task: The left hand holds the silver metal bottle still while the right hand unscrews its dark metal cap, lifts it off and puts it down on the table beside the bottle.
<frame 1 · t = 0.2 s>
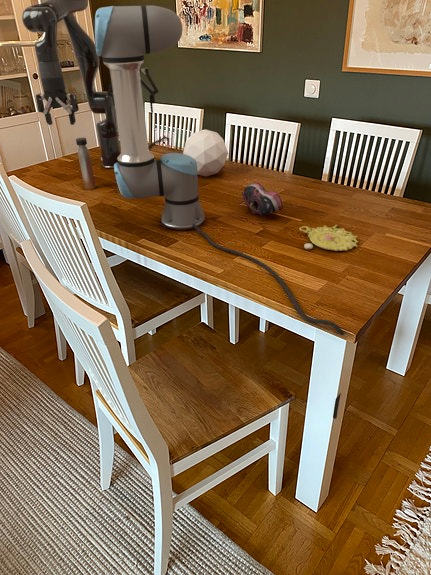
left hand: (61, 124, 161), 29 cm above the table, tool pointing down, fingers open, 8 cm apart
right hand: (135, 113, 181), 28 cm above the table, tool pointing down, fingers open, 13 cm apart
decorative object: (328, 239, 142), on the table
cap: (81, 139, 178), point 20 cm above the table, screwed on, not yet turned
athletic shoe: (257, 211, 163), on the table
sphere: (206, 174, 200), on the table
bottle: (90, 187, 189), on the table
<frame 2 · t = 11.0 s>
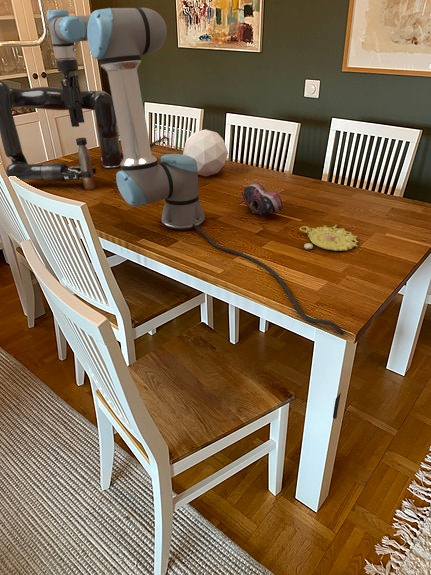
left hand: (93, 172, 185), 7 cm above the table, tool horizontal, fingers closed on bottle, 4 cm apart
right hand: (78, 124, 175), 26 cm above the table, tool pointing down, fingers open, 6 cm apart
bottle: (90, 187, 189), on the table, touching left hand
everything else where it was.
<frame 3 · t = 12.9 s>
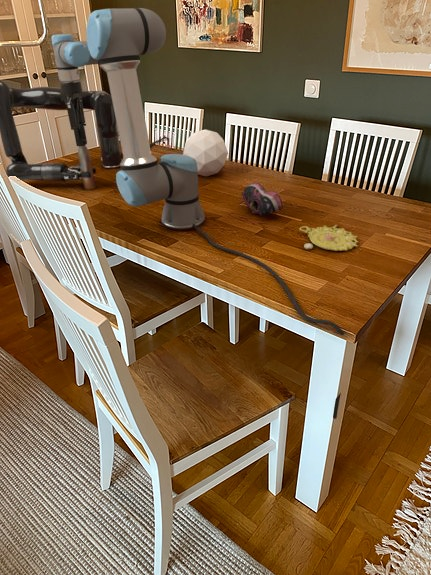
left hand: (93, 172, 185), 6 cm above the table, tool horizontal, fingers closed on bottle, 4 cm apart
right hand: (81, 144, 179), 18 cm above the table, tool pointing down, fingers closed on cap, 4 cm apart
cap: (81, 139, 178), point 20 cm above the table, screwed on, not yet turned, touching right hand
bottle: (90, 187, 189), on the table, touching left hand
everything else where it was.
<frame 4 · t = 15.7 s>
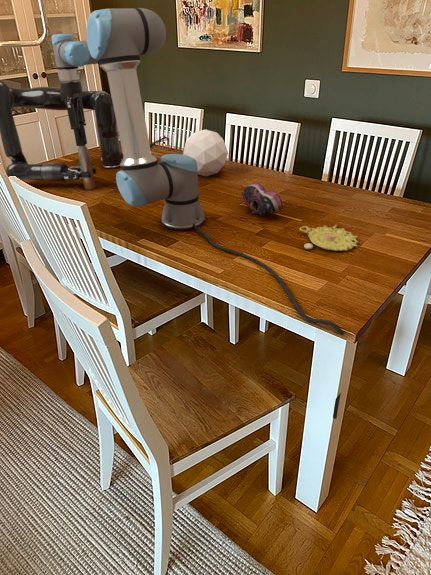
left hand: (93, 172, 185), 6 cm above the table, tool horizontal, fingers closed on bottle, 4 cm apart
right hand: (81, 144, 179), 18 cm above the table, tool pointing down, fingers closed on cap, 4 cm apart
cap: (81, 139, 178), point 20 cm above the table, turned 82° so far, risen 0.1 cm, still on its thread, touching right hand
bottle: (90, 187, 189), on the table, touching left hand
everything else where it was.
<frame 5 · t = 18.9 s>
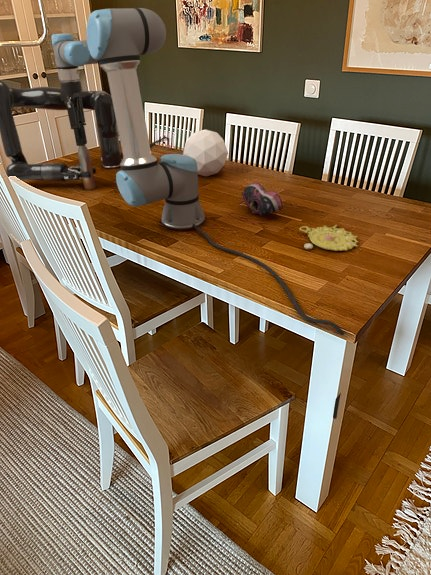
left hand: (93, 172, 185), 6 cm above the table, tool horizontal, fingers closed on bottle, 4 cm apart
right hand: (81, 143, 179), 18 cm above the table, tool pointing down, fingers closed on cap, 4 cm apart
cap: (81, 139, 178), point 20 cm above the table, turned 164° so far, risen 0.2 cm, still on its thread, touching right hand
bottle: (90, 187, 189), on the table, touching left hand
everything else where it was.
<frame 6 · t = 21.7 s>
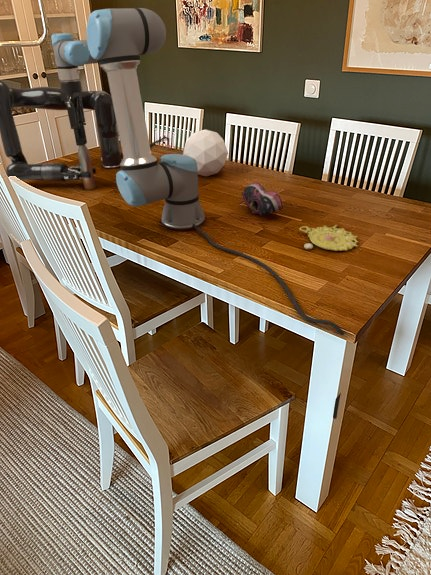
left hand: (93, 172, 185), 6 cm above the table, tool horizontal, fingers closed on bottle, 4 cm apart
right hand: (81, 143, 179), 18 cm above the table, tool pointing down, fingers closed on cap, 4 cm apart
cap: (80, 138, 178), point 20 cm above the table, turned 246° so far, risen 0.3 cm, still on its thread, touching right hand
bottle: (90, 187, 189), on the table, touching left hand
everything else where it was.
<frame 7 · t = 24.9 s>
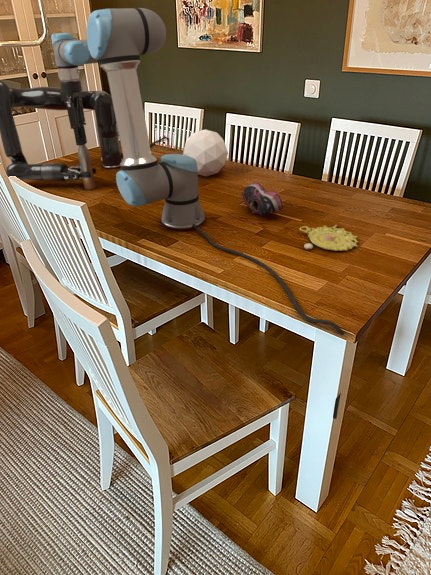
left hand: (93, 172, 185), 6 cm above the table, tool horizontal, fingers closed on bottle, 4 cm apart
right hand: (81, 143, 179), 19 cm above the table, tool pointing down, fingers closed on cap, 4 cm apart
cap: (80, 138, 178), point 21 cm above the table, turned 328° so far, risen 0.4 cm, still on its thread, touching right hand
bottle: (90, 187, 189), on the table, touching left hand
everything else where it was.
when the right hand's fingers open (2 cm above the table, at t = 30.9 s): cap drops 2 cm, point 2 cm above the table.
when the left hand's fingers open (7 cm above the table, at t = 32.2 s): bottle stays where it is, on the table.
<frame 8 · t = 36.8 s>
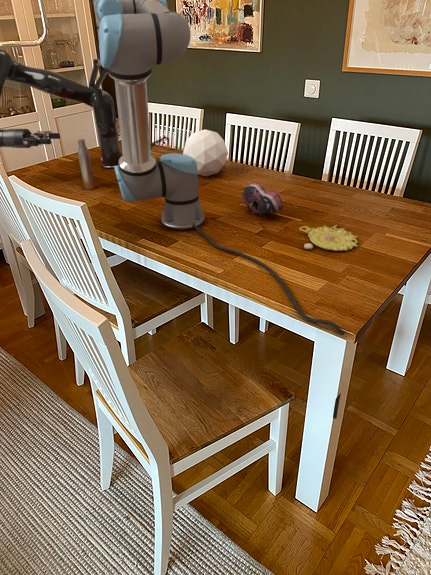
left hand: (55, 138, 179), 20 cm above the table, tool horizontal, fingers open, 8 cm apart
right hand: (119, 108, 165), 33 cm above the table, tool pointing down, fingers open, 13 cm apart
cap: (130, 188, 182), point 2 cm above the table, off its thread
bottle: (90, 187, 189), on the table
everything else where it was.
at the end: cap came off its thread; cap point 1.8 cm above the table; the left hand is holding nothing; the right hand is holding nothing; bottle tilted 0°; bottle moved 0.0 cm from its start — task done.
